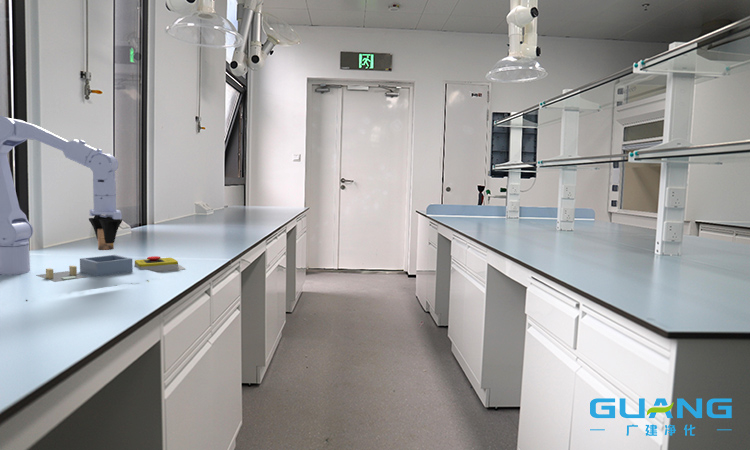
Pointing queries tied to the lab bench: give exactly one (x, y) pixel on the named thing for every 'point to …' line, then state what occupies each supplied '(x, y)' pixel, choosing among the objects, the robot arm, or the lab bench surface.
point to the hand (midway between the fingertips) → (105, 242)
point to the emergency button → (158, 264)
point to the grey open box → (106, 265)
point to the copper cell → (103, 241)
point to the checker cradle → (62, 274)
